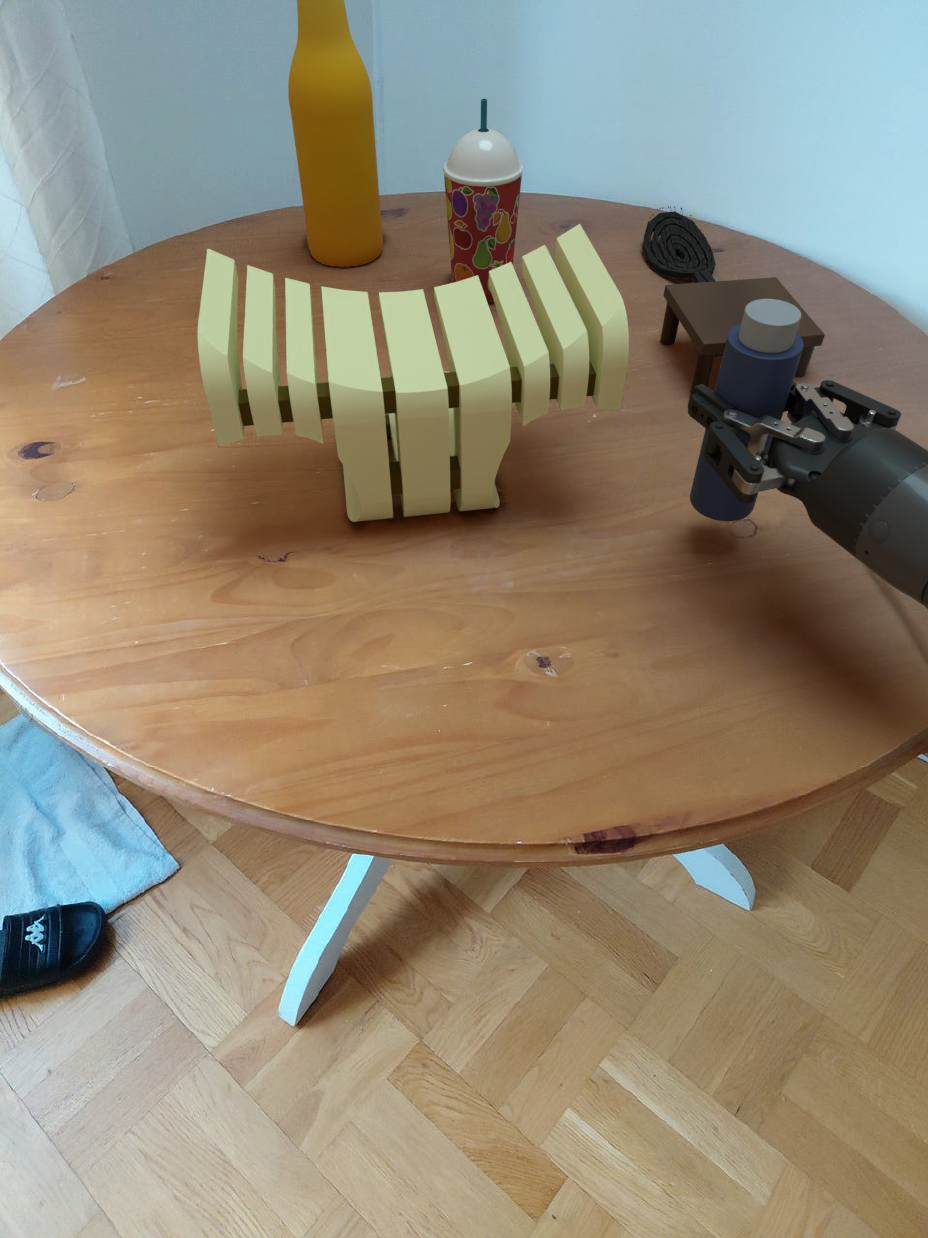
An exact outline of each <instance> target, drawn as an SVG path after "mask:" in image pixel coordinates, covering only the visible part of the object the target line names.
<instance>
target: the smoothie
mask: <svg viewBox="0 0 928 1238" xmlns="http://www.w3.org/2000/svg"><path fill="white" fill-rule="evenodd" d="M442 170H443V171H442V172H443V173H444V174H443V175H444V178H443V179H444V190H445V205H446V206H445V207H446V217H447V231H448V244H449V256H450V257H449V259H450V271H451V283H454V282H458V281H461V280H464V279H468V278H471V277H474V276H477V275H478V277H479V280H480V283H481V286H482V288H483V291H484V294H485V297H486V300H487V303H488V304H490V303H493V302H494V299H493V296H492V293H491V291H490V288H489V271H491V270H493V269H495V268H498V267H500V266H502V265H505V264H507V263H510V262H511V263H512V265H513V266H514V258H515V257H514V256H515V246H516V237H517V227H518V218H519V206H520V197H521V187H522V176H523V171H524V166H523V164H522V162H521V161H520V159H519V157H518V154H517V151H516V149H515V147H514V145H513V144H512V142H511V141H510V139H509V138H508V137H507V136H505V135H504V134H503V133H501V132H499V131H497V130H495V129H492V128H488V98H480V127H479V128H475V129H471V130H469V131H467V132H466V133H464V134H463V135H461V136H460V137H459V138H458V139H457V141H456V142H455V143H454V145H453V147H452V148H451V150H450V153H449V156H448V158H447V160H446V161H445V162H444V164H443V167H442ZM494 303H495V302H494Z"/></svg>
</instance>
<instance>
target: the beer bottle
mask: <svg viewBox="0 0 928 1238" xmlns="http://www.w3.org/2000/svg"><path fill="white" fill-rule="evenodd" d="M296 6H297V7H296V8H297V9H296V11H297V39H296V45H295V49H294V52H293V55H292V60H291V64H290V68H289V74H288V85H287V91H288V93H287V94H288V103H289V104H288V105H289V110H290V111H289V112H290V117H291V125H292V131H293V139H294V147H295V152H296V161H297V169H298V176H299V184H300V190H301V191H300V192H301V198H302V199H301V200H302V206H303V212H304V213H303V214H304V220H305V230H306V240H307V241H306V242H307V245H308V249H309V252H310V255H311V256H312V257H313V259H314V260H315V259H316V261H317V262H318V261H319V262H318V263H320V262H321V263H320V264H322V265H325V264H326V265H325V266H328V265H330V266H329V267H333V266H338V267H337V268H351V267H350V266H354V267H358V266H359V267H360V266H362V265H363V266H364V265H367V264H369V263H371V262H373V261H375V260H376V259H378V257H379V256H380V255H381V252H382V250H383V244H384V243H383V242H384V238H383V237H384V236H383V235H384V234H383V226H382V217H381V204H380V190H379V175H378V162H377V150H376V148H377V146H376V133H375V122H374V121H375V119H374V106H373V105H374V104H373V102H374V101H373V91H372V86H371V85H372V84H371V81H370V77H369V74H368V70H367V68H366V65H365V63H364V60H363V58H362V56H361V54H360V53H359V50H358V49H357V46H356V44H355V41H354V40H353V37H352V33H351V29H350V25H349V20H348V14H347V9H346V3H345V0H296ZM339 266H341V267H339Z"/></svg>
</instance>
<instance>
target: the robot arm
mask: <svg viewBox="0 0 928 1238" xmlns="http://www.w3.org/2000/svg"><path fill="white" fill-rule="evenodd" d="M690 389H691V388H690ZM834 400H836V401H838V402H841V403H843V405H845V410H844V412H842V411H840V410H839V409H838V408H837V407H836V405H834ZM734 408H735V407H734V406H733V405H731V404H730V403H728V402H727V401H725V400H724V399H723V398H722V397H720V396H719V395H717V394H716V393H715V392H714V391H713V389H711V388H709V386H708V387H707V386H705V385H704V384H700V385H698V386H695V387H693V388H692V389H691V393H690V392H689V398H688V402H687V413H688V415H689V417H690V418H691V419H693V420H694V421H695V422H697V423H698V424H699V425H701V426H702V427H703V428H704V429H707V430H708V431H709V432H708V436H707V440H706V444H705V449H704V453H703V457H704V458H705V459H706V461H707V462H708V463H709V464H710V466H711V467H712V468H713V469H714V471H715V472H716V473H717V474H718V476H719V477H720V478H721V480H722V481H723V482H724V483H725V485H726V486H727V487H728V488H729V490H730V491H731V492H732V493H733V495H734V496H735V497H736V499H737V500H738V501H739V502H741V503H744V504H751V503H753V502H754V501H755V498H756V495H757V492H764V491H769V490H775V489H776V490H778V492H780V493H782V494H784V495H788V496H789V497H792V498H794V499H797V500H798V501H799V502H801V503H802V504H803V506H804V508H805V511H806V514H807V515H808V518H809V520H810V522H811V523H812V525H814V527H816V529H818V530H819V531H821V532H822V533H823V534H824V535H826V537H828V538H829V539H831V540H832V541H833V542H834V543H836V544H837V545H839V547H841V548H842V549H843V550H845V551H846V552H847V553H849V554H850V555H851V556H853V557H854V558H855V559H856V560H858V561H859V562H860V563H862V564H863V565H864V566H865V567H866V568H868V569H869V570H870V571H872V572H873V573H874V574H875V575H877V576H878V577H879V578H880V579H882V580H883V581H884V582H885V583H887V584H888V585H890V586H892V587H893V588H894V589H896V590H897V591H899V592H901V593H902V594H905V595H906V596H908V597H910V598H911V599H913V600H915V601H916V602H917V603H919V604H920V605H922V606H924V607H925V609H927V610H928V450H927V449H926V448H924V447H923V446H922V445H920V444H918V443H917V442H915V441H914V440H912V439H911V438H909V437H907V436H906V435H904V434H903V433H901V432H900V431H898V430H897V427H898V424H899V421H900V419H901V416H902V413H901V411H900V410H898V409H896V408H894V407H892V406H890V405H888V404H885V403H883V402H880V401H878V400H876V399H875V398H871V397H870V396H868V395H865V394H862V393H860V392H858V391H857V390H854V389H852V388H850V387H847V386H845V385H843V384H840V383H838V382H836V381H834V380H830V379H826V380H822V381H821V382H820V384H819V386H815V387H814V386H813V385H812V384H810V383H807V382H799V383H797V382H795V381H793V383H792V386H791V389H790V393H789V396H788V399H787V402H786V406H785V409H784V412H783V413H785V412H787V413H786V417H787V418H788V420H789V422H790V423H788V422H786V421H784V420H782V419H781V420H778V419H776V418H773V417H771V416H767V415H766V416H763V417H762V418H760V419H759V418H755V417H753V416H751V415H748V414H746V413H743V412H741V411H738V410H735V409H734ZM738 429H742V430H744V431H747V432H748V433H749V434H750V436H751V437H750V441H747V440H744V439H742V438H739V437H737V433H738ZM768 434H769V435H772V436H773V438H772V441H771V444H770V447H769V450H768V455H767V454H766V453H765V451H764V446H765V443H766V440H767V436H768Z"/></svg>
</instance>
